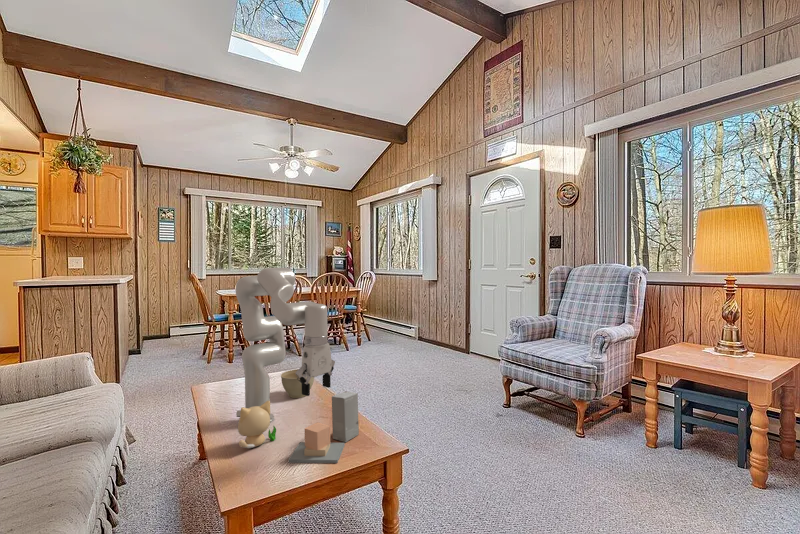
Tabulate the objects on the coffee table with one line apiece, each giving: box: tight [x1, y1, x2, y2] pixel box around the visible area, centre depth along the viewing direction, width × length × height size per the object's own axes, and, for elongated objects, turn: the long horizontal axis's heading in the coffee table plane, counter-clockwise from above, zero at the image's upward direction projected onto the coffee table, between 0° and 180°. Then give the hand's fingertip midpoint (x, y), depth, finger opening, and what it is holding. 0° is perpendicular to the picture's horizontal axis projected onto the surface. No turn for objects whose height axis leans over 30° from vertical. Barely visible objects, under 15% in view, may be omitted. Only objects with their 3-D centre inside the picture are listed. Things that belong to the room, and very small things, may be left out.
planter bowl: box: [280, 368, 315, 399], centre depth 187 cm, size 16×16×11 cm
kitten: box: [237, 400, 277, 449], centre depth 136 cm, size 15×10×15 cm, turn 133°
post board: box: [288, 441, 346, 464], centre depth 128 cm, size 16×12×6 cm
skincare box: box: [331, 390, 360, 444], centre depth 141 cm, size 8×7×16 cm
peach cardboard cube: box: [304, 422, 331, 451], centre depth 128 cm, size 6×6×6 cm
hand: (316, 390), depth 129 cm, fingers open, 9 cm apart
